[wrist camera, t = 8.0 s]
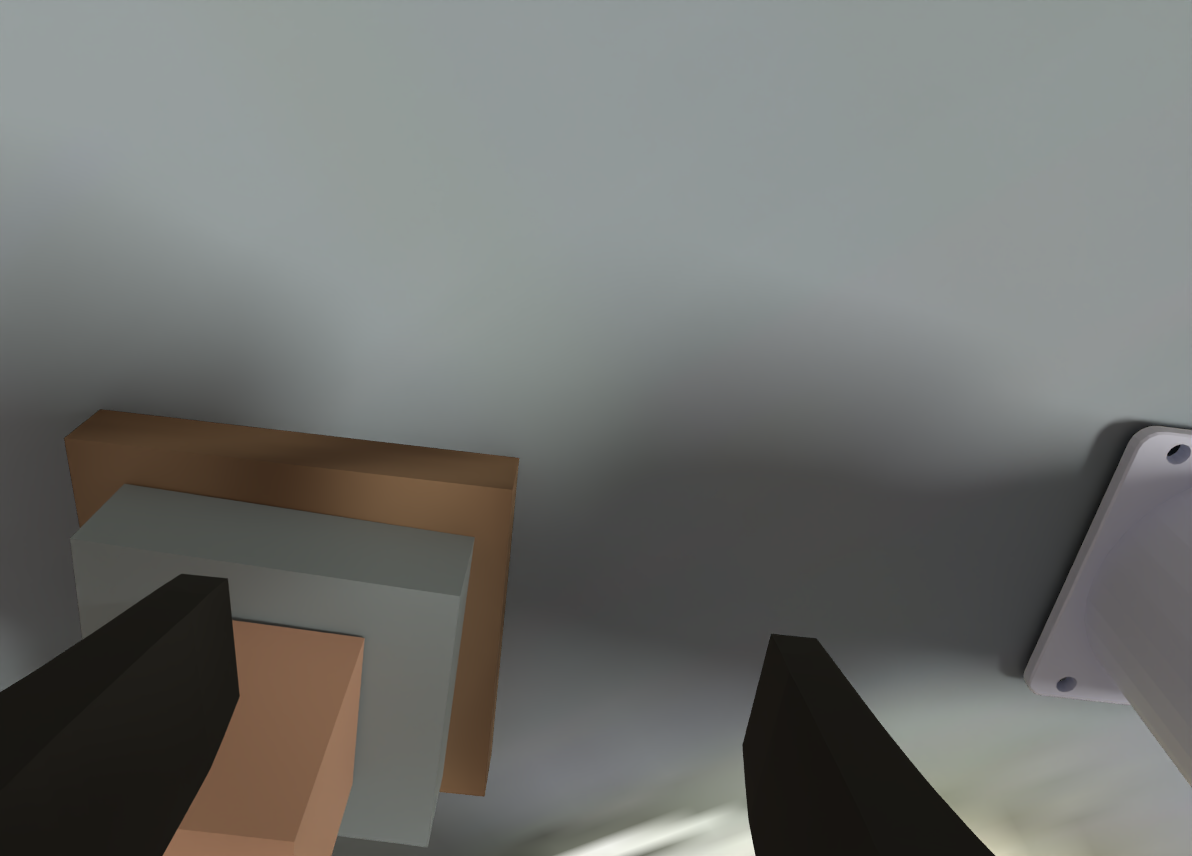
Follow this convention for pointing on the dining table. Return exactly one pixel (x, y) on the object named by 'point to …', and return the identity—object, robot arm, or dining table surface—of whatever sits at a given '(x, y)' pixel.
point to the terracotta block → (281, 748)
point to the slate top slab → (312, 618)
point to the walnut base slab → (339, 488)
